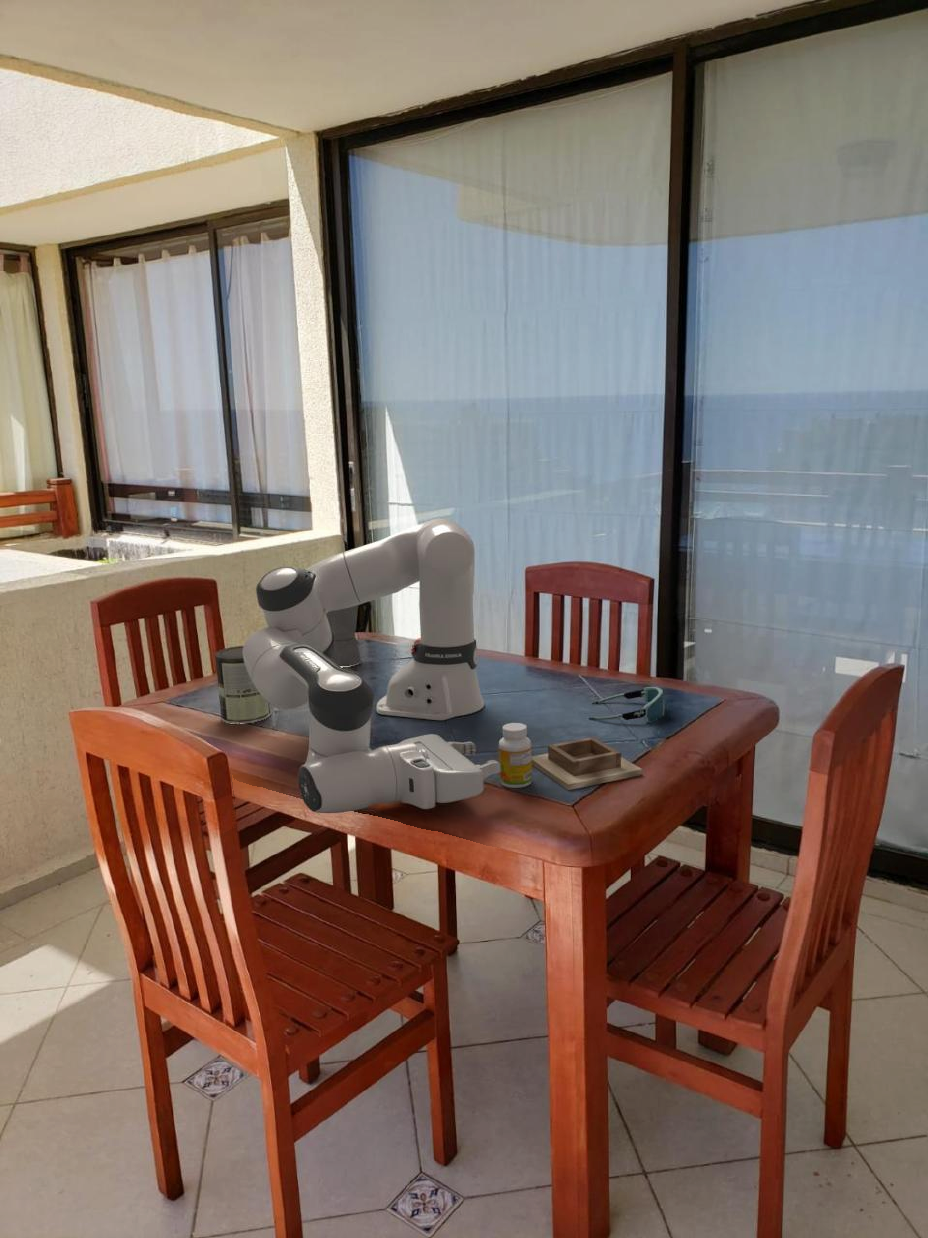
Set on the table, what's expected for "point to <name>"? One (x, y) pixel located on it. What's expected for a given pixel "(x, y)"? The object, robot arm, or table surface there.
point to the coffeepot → (347, 633)
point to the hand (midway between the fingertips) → (486, 756)
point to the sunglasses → (650, 710)
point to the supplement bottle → (515, 756)
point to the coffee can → (238, 689)
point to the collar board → (584, 763)
